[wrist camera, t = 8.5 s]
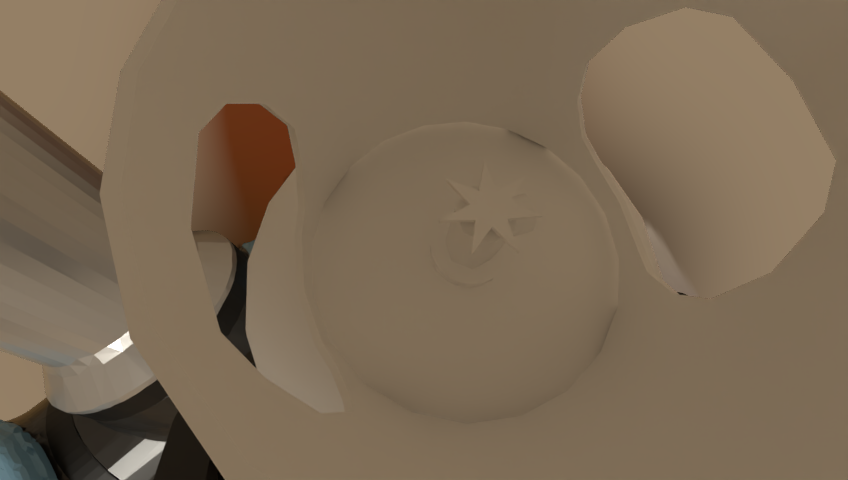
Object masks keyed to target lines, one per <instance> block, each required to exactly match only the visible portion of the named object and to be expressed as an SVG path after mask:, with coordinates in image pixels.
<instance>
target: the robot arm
mask: <svg viewBox="0 0 848 480" xmlns="http://www.w3.org/2000/svg"><path fill="white" fill-rule="evenodd" d="M102 176H103V172H102V171H101V170H99V169H98V168H97V167H96V166H95V165H93V164H92V163H91V162H90V161H88V160H87V159H86V158H84V157H83V156H82V155H81V154H79V153H78V152H77V151H76V150H74V149H73V148H72V147H71V146H69V145H68V144H67V143H66V142H64V141H63V140H62V139H60V138H59V137H58V136H57V135H55V134H54V133H53V132H52V131H50V130H49V129H48V128H47V127H46V126H44V125H43V124H42V123H40V122H39V121H38V120H37V119H35V118H34V117H33V116H31V115H30V114H29V113H28V112H27V111H25V110H24V109H23V108H22V107H20V106H19V105H18V104H17V103H15V102H14V101H13V100H12V99H10V98H9V97H8V96H7V95H5V94H4V93H3V92H2V91H0V351H3V352H5V353H9V354H11V355H14V356H17V357H20V358H23V359H26V360H29V361H32V362H35V363H38V364H41V365H42V368H43V378H44V387H45V393H46V398H45V399H44V400H43V401H41V402H40V403H39V404H37V405H36V406H35V407H33V408H32V409H31V410H29V411H27V412H26V413H24V414H22V415H21V416H18V417H16V418H14V419H11V420H9V421H3V420H0V480H225V479H224V478H223V476H222V475H221V473H220V472H219V470H218V469H217V467H216V466H215V464H214V463H213V461H212V460H211V458H210V457H209V455H208V454H207V452H206V451H205V449H204V448H203V446H202V445H201V443H200V442H199V440H198V439H197V437H196V436H195V435H194V433H193V432H192V430H191V429H190V427H189V426H188V424H187V423H186V421H185V420H184V418H183V417H182V415H181V414H180V412H179V411H178V409H177V408H176V406H175V405H174V403H173V402H172V400H171V399H170V397H169V396H168V394H167V393H166V391H165V390H164V388H163V387H162V385H161V384H160V382H159V381H158V379H157V378H156V376H155V375H154V373H153V372H152V370H151V369H150V367H149V366H148V364H147V363H146V361H145V360H144V359H143V357H142V356H141V354H140V353H139V351H138V350H137V348H136V347H135V345H134V344H133V342H132V341H131V339H130V336H129V331H128V326H127V321H126V317H125V312H124V307H123V303H122V298H121V293H120V289H119V284H118V279H117V274H116V270H115V265H114V260H113V256H112V251H111V246H110V242H109V237H108V232H107V227H106V223H105V218H104V213H103V209H102V204H101V199H100V195H99V194H100V188H101V182H102ZM192 234H193V237H194V241H195V244H196V248H197V251H198V254H199V258H200V261H201V265H202V268H203V272H204V275H205V279H206V282H207V286H208V289H209V293H210V296H211V300H212V303H213V307H214V310H215V314H216V317H217V321H218V324H219V328H220V331H221V333H222V334H223V335H224V336H225V337H226V338H227V339H228V340H229V341H230V342H231V343H232V344H233V345H234V346H235V347H236V348H237V349H238V350H239V351H240V352H241V353H242V354H243V355H244V356H245V357H246V358H247V360H248V361H249V362H250V363H251V364H252V365H253V366H254V367H255V368H256V365H255V361H254V358H253V355H252V352H251V348H250V345H249V342H248V339H247V335H246V296H247V262H248V259H249V256H250V254H251V251H252V248H253V245H254V242H255V240H253V241H251V242H248V243H244V244H243V245H242V247H241V248H240V250H239V249H238V248H237V247H236V246H235V245H234V244H233V243H231V242H230V241H229V240H228V239H227V238H225V237H224V236H222V235H221V234H219V233H217V232H213V231H192ZM677 293H678V294H679V295H686V294H683V293H679V292H677ZM686 296H688V295H686ZM256 369H257V368H256Z"/></svg>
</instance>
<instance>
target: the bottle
mask: <svg viewBox="0 0 848 480" xmlns="http://www.w3.org/2000/svg"><path fill="white" fill-rule="evenodd" d="M685 7H687V8H692V9H697V10H701V11H706V12H711V13H716V14H721V15H726V16H730V17H733V18H734V19H735V20H736V21H737V22H738V23H739V24H740V25H741V26H742V27H743V28H744V29H745V31H746V32H747V33H748V34H749V35H750V36H751V37H752V38H753V39H754V40H755V41H756V42H757V43H758V44H759V45H760V46H761V48H762V49H763V50H764V51H765V52H766V53H767V54H768V55H769V56H770V57H771V58H772V59H773V60H774V61H775V62H776V63H777V64H778V65H779V67H781V69H782V70H783V71H784V72H785V73H786V74H787V75H788V76H789V77H790V78H791V79H792V80H793V82H794V84H795V86H796V88H797V89H798V91H799V93H800V95H801V97H802V99H803V100H804V102H805V104H806V106H807V108H808V110H809V111H810V113H811V115H812V117H813V119H814V120H815V123H816V124H817V126H818V128H819V130H820V132H821V133H822V135H823V137H824V139H825V141H826V143H827V145H828V146H829V148H830V150H831V152H832V154H833V156H834V158H835V159H836V164H835V168H834V172H833V177H832V181H831V185H830V190H829V194H828V198H827V203H826V207H825V211H824V213H823V214H822V215H821V217H820V218H819V219H818V220H817V221H816V222H815V223H814V225H813V226H812V227H811V228H810V229H809V230H808V231H807V233H806V234H805V235H804V236H803V237H802V238H801V239H800V241H799V242H798V243H797V244H796V245H795V246H794V247H793V248H792V250H791V251H790V252H789V253H788V254H787V255H786V256H785V257H784V259H783V260H782V261H781V262H780V263H779V264H778V265H777V267H776V268H775V269H774V270H773V271H772V272H771V273H769V274H767V275H764V276H762V277H760V278H757V279H755V280H753V281H750V282H748V283H746V284H744V285H741V286H739V287H737V288H734V289H732V290H730V291H727V292H725V293H723V294H721V295H718V296H716V297H713V298H711V299H708V298H701V297H694V296H686V295H679V294H678V293H677V292H676V291H675V290H673V289H672V288H671V287H670V286H669V285H668V284H666V283H665V282H664V281H663V278H662V275H661V272H660V269H659V266H658V263H657V260H656V257H655V254H654V251H653V248H652V245H651V242H650V239H649V236H648V233H647V230H646V227H645V224H644V221H643V218H642V217H641V215H640V214H639V212H638V211H637V210H636V208H635V207H634V205H633V204H632V202H631V201H630V199H629V198H628V197H627V195H626V194H625V192H624V191H623V189H622V188H621V186H620V185H619V184H618V182H617V181H616V179H615V178H614V176H613V175H612V173H611V172H610V171H609V169H608V168H607V167H606V166H604V165H603V164H602V162H601V160H600V159H599V157H598V155H597V153H596V152H595V150H594V148H593V146H592V144H591V143H590V141H589V139H588V137H587V136H586V131H585V123H584V116H583V110H582V103H581V94H582V89H583V85H584V80H585V76H586V72H587V68H588V63H589V61H590V60H591V59H592V58H593V57H594V56H595V55H596V54H597V53H598V52H599V51H600V50H601V49H602V48H604V47H605V46H606V45H607V44H608V43H609V42H610V41H611V40H612V39H613V38H615V37H616V36H617V35H618V34H619V33H620V32H621V31H622V30H623V29H624V28H625V27H628V26H631V25H634V24H637V23H640V22H643V21H646V20H649V19H652V18H655V17H658V16H661V15H664V14H667V13H670V12H673V11H676V10H679V9H682V8H685ZM226 104H260V105H261V106H263V107H264V108H265V109H267V110H268V111H269V112H270V113H272V114H273V115H274V116H276V117H277V118H278V119H280V120H281V121H282V122H283V123H285V124H286V125H287V128H288V132H289V137H290V141H291V146H292V151H293V155H294V159H295V167H296V168H295V169H294V170H293V171H292V173H291V174H290V175H289V177H288V178H287V179H286V181H285V182H284V183H283V185H282V186H281V187H280V189H279V190H278V192H277V193H276V194H275V195H274V197H273V198H272V199H271V200H270V202H269V204H268V207H267V209H266V212H265V215H264V217H263V220H262V223H261V226H260V229H259V231H258V234H257V237H256V240H255V242H254V245H253V248H252V251H251V254H250V256H249V259H248V262H247V296H246V335H247V339H248V342H249V345H250V348H251V352H252V355H253V358H254V361H255V365H256V368H257V369H256V368H255V367H254V366H253V365H252V364H251V363H250V362H249V361H248V360H247V358H246V357H245V356H244V355H243V354H242V353H241V352H240V351H239V350H238V349H237V348H236V347H235V346H234V345H233V344H232V343H231V342H230V341H229V340H228V339H227V338H226V337H225V336H224V335H223V334H222V333H221V331H220V328H219V324H218V321H217V317H216V314H215V310H214V307H213V303H212V300H211V296H210V293H209V289H208V286H207V282H206V279H205V275H204V272H203V268H202V265H201V261H200V258H199V254H198V251H197V248H196V244H195V241H194V237H193V234H192V230H191V220H192V208H193V195H194V183H195V171H196V159H197V158H196V157H197V147H198V134H199V132H200V131H201V130H202V129H203V128H204V127H205V126H206V125H207V123H208V122H209V121H210V120H211V119H212V118H213V117H214V116H215V115H216V114H217V113H218V112H219V111H220V110H221V109H222V108H223V107H224V106H225V105H226ZM99 195H100V199H101V204H102V209H103V213H104V218H105V223H106V227H107V232H108V237H109V242H110V246H111V251H112V256H113V260H114V265H115V270H116V274H117V279H118V284H119V289H120V293H121V298H122V303H123V307H124V312H125V317H126V321H127V326H128V331H129V336H130V339H131V341H132V342H133V344H134V345H135V347H136V348H137V350H138V351H139V353H140V354H141V356H142V357H143V359H144V360H145V361H146V363H147V364H148V366H149V367H150V369H151V370H152V372H153V373H154V375H155V376H156V378H157V379H158V381H159V382H160V384H161V385H162V387H163V388H164V390H165V391H166V393H167V394H168V396H169V397H170V399H171V400H172V402H173V403H174V405H175V406H176V408H177V409H178V411H179V412H180V414H181V415H182V417H183V418H184V420H185V421H186V423H187V424H188V426H189V427H190V429H191V430H192V432H193V433H194V435H195V436H196V437H197V439H198V440H199V442H200V443H201V445H202V446H203V448H204V449H205V451H206V452H207V454H208V455H209V457H210V458H211V460H212V461H213V463H214V464H215V466H216V467H217V469H218V470H219V472H220V473H221V475H222V476H223V478H224V479H225V480H848V0H161V2H160V4H159V5H158V7H157V9H156V10H155V12H154V14H153V16H152V17H151V19H150V21H149V22H148V24H147V26H146V28H145V29H144V31H143V33H142V35H141V36H140V38H139V40H138V42H137V43H136V45H135V47H134V48H133V50H132V52H131V54H130V55H129V57H128V59H127V61H126V62H125V64H124V66H123V68H122V69H121V71H120V77H119V82H118V88H117V94H116V101H115V106H114V112H113V118H112V124H111V129H110V135H109V141H108V148H107V153H106V159H105V164H104V170H103V176H102V182H101V188H100V194H99Z"/></svg>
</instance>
